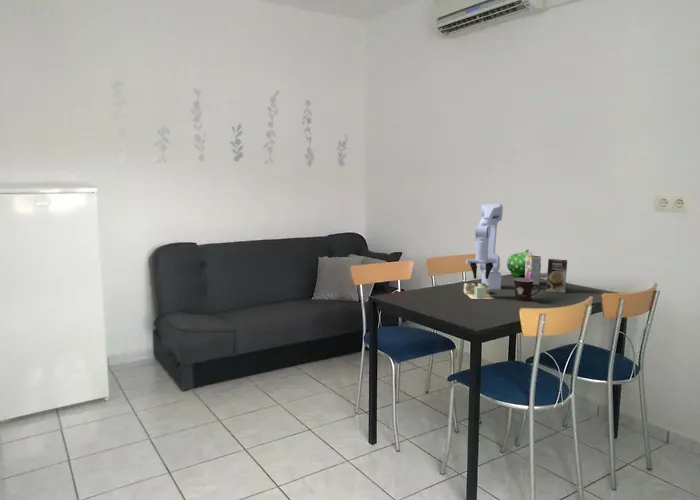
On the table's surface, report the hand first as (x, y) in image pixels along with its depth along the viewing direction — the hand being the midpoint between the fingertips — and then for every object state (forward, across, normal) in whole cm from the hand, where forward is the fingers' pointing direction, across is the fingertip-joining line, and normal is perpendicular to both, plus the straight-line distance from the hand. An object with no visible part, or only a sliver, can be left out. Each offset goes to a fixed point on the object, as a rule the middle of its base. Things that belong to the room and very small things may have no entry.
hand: (480, 278), depth 252 cm
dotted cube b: (+9, -4, +7) cm, 12 cm away
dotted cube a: (+9, +4, +7) cm, 12 cm away
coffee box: (+10, +43, +14) cm, 46 cm away
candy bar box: (+10, +37, +31) cm, 49 cm away
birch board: (+9, 0, +3) cm, 10 cm away
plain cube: (+9, 0, 0) cm, 9 cm away
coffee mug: (+10, +19, -8) cm, 23 cm away
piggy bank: (+10, +40, +54) cm, 68 cm away
